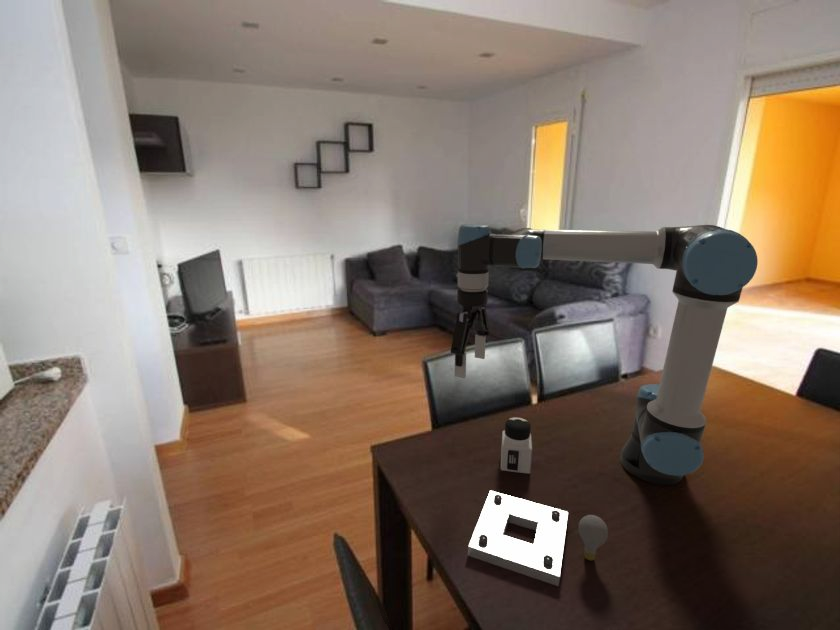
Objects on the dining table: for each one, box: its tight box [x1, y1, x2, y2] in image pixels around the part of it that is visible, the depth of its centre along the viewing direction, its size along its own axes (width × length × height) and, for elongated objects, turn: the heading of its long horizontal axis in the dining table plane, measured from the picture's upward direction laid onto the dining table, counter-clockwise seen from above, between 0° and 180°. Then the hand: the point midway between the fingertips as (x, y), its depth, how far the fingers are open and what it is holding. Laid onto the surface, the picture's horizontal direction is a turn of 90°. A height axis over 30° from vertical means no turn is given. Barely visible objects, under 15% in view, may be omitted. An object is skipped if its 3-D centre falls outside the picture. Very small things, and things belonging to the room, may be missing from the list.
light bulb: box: [577, 514, 609, 561], centre depth 86 cm, size 6×6×10 cm
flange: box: [467, 490, 569, 587], centre depth 92 cm, size 18×18×3 cm
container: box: [500, 417, 533, 474], centre depth 115 cm, size 8×8×13 cm
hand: (470, 367), depth 112 cm, fingers open, 13 cm apart
